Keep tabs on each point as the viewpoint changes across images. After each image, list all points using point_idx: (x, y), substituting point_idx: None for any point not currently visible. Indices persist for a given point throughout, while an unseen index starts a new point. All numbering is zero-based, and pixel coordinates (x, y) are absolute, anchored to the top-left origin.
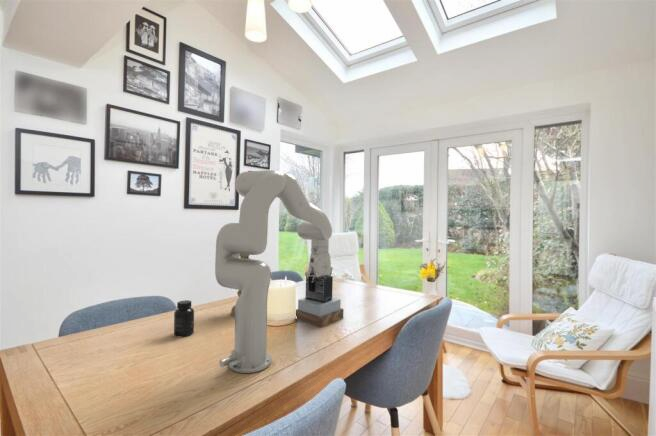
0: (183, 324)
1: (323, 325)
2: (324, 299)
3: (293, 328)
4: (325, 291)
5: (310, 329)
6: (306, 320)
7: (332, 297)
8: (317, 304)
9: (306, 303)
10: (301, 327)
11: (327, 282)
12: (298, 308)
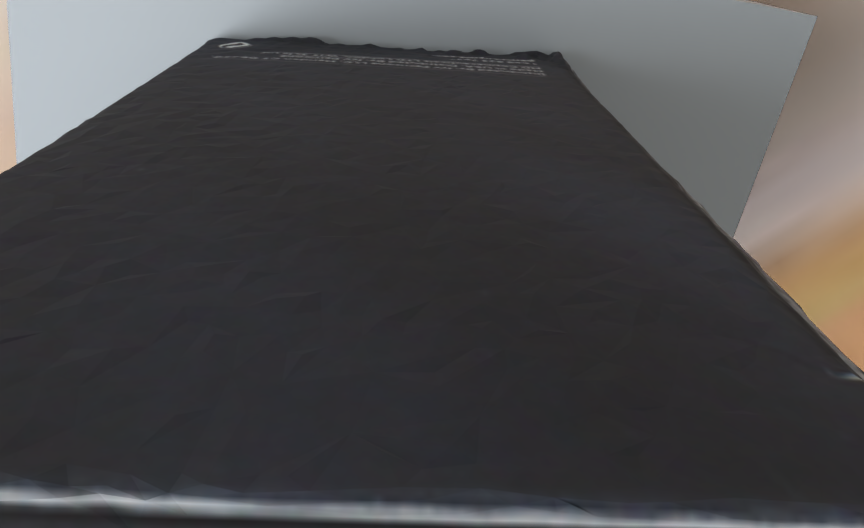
0: None
1: None
2: (582, 82)
3: (856, 239)
4: (606, 131)
5: (812, 38)
6: None
7: (17, 153)
8: (737, 140)
9: None
10: (789, 179)
11: (534, 268)
12: None
